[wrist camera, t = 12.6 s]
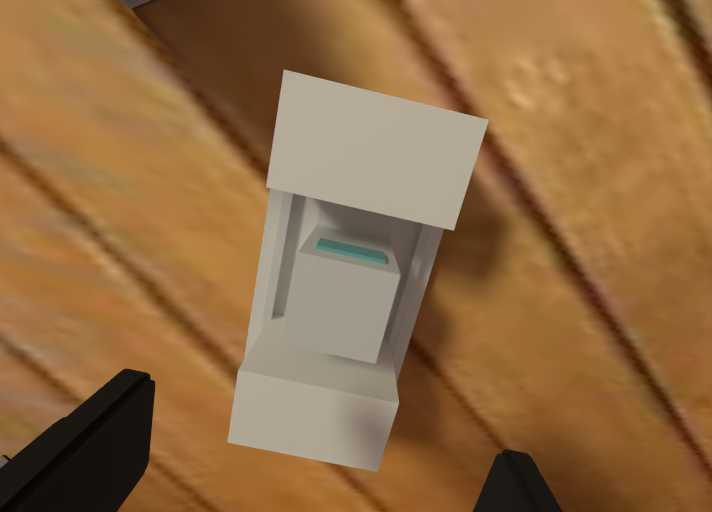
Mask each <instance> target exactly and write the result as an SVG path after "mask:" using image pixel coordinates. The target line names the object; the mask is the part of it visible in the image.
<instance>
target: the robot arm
mask: <svg viewBox="0 0 712 512" xmlns="http://www.w3.org/2000/svg"><path fill="white" fill-rule="evenodd" d="M154 394H155V381H153V380H150V374H148V373H145V372H141V371H136V370H131V369H124V370H122V371H121V372H120V373H118V374H117V375H116V376H115V377H114V378H112V379H111V380H110V381H109V382H108V383H106V384H105V385H104V386H103V387H102V388H100V389H99V390H98V391H97V392H96V393H94V394H93V395H92V396H91V397H90V398H88V399H87V400H86V401H85V402H84V403H83V404H81V405H80V406H79V407H78V408H77V409H75V410H74V411H73V412H72V413H71V414H69V415H68V416H67V417H64V418H62V419H60V420H59V421H57V422H56V423H54V424H53V425H52V426H51V427H49V428H48V429H47V430H46V431H45V432H43V433H42V434H41V435H40V436H38V437H37V438H36V439H35V440H34V441H32V442H31V443H30V444H29V445H28V446H26V447H25V448H24V449H23V450H22V451H20V452H19V453H18V454H17V455H15V456H14V457H13V458H12V459H11V460H9V461H8V462H7V463H6V464H5V465H3V466H2V467H1V468H0V512H117V511H118V509H119V508H120V506H121V505H122V504H123V502H124V501H125V500H126V498H127V497H128V495H129V494H130V493H131V491H132V490H133V488H134V487H135V486H136V484H137V483H138V481H139V480H140V479H141V477H142V476H143V474H144V472H145V470H146V468H147V465H148V461H149V452H150V440H151V429H152V417H153V406H154ZM473 512H562V510H561V508H560V506H559V505H558V503H557V501H556V499H555V498H554V496H553V494H552V492H551V491H550V489H549V487H548V485H547V484H546V482H545V480H544V478H543V477H542V475H541V473H540V471H539V470H538V468H537V466H536V465H535V463H534V461H533V459H532V458H531V456H530V455H528V454H527V453H522V452H518V451H513V450H508V449H505V450H504V451H503V452H502V454H498V455H497V456H496V457H495V460H494V462H493V465H492V467H491V469H490V472H489V474H488V477H487V479H486V482H485V484H484V486H483V489H482V491H481V494H480V496H479V498H478V501H477V503H476V506H475V508H474V510H473Z"/></svg>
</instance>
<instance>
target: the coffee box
mask: <svg viewBox="0 0 712 512" xmlns="http://www.w3.org/2000/svg"><path fill="white" fill-rule="evenodd" d="M118 1H119V2H121V3H122V4H124V5H125V6H127V7H128V8H134V7H136V6H139V5H141V4H144V3H146V2H149V1H151V0H118Z"/></svg>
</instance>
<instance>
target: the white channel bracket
mask: <svg viewBox="0 0 712 512" xmlns="http://www.w3.org/2000/svg"><path fill="white" fill-rule="evenodd" d="M488 121H489V120H487V119H482V118H478V117H474V116H470V115H466V114H462V113H458V112H454V111H450V110H446V109H442V108H438V107H434V106H430V105H426V104H422V103H418V102H414V101H410V100H406V99H402V98H398V97H393V96H389V95H385V94H381V93H377V92H373V91H369V90H365V89H361V88H357V87H353V86H349V85H345V84H341V83H337V82H333V81H329V80H325V79H321V78H317V77H313V76H309V75H305V74H300V73H296V72H292V71H288V70H284V72H283V79H282V85H281V92H280V98H279V105H278V112H277V118H276V125H275V131H274V138H273V145H272V151H271V158H270V164H269V171H268V178H267V184H266V187H268V188H271V189H270V195H269V202H268V208H267V215H266V221H265V228H264V234H263V240H262V247H261V253H260V260H259V266H258V273H257V279H256V285H255V292H254V298H253V305H252V311H251V318H250V324H249V330H248V337H247V343H246V350H245V356H244V361H243V363H242V365H241V366H240V368H239V370H238V375H237V382H236V389H235V395H234V402H233V408H232V415H231V422H230V428H229V435H228V441H227V442H228V443H233V444H238V445H243V446H248V447H253V448H258V449H264V450H269V451H274V452H279V453H284V454H289V455H294V456H299V457H304V458H309V459H314V460H319V461H324V462H329V463H334V464H339V465H344V466H349V467H354V468H359V469H364V470H369V471H374V472H378V469H379V466H380V463H381V459H382V456H383V453H384V450H385V447H386V444H387V440H388V437H389V434H390V431H391V428H392V425H393V421H394V418H395V415H396V412H397V409H398V406H399V399H398V392H397V385H396V384H397V381H398V377H399V374H400V371H401V368H402V364H403V361H404V358H405V355H406V351H407V348H408V345H409V342H410V338H411V335H412V332H413V328H414V325H415V322H416V319H417V315H418V312H419V309H420V306H421V302H422V299H423V296H424V293H425V289H426V286H427V283H428V280H429V276H430V273H431V270H432V267H433V263H434V260H435V257H436V254H437V250H438V247H439V244H440V241H441V237H442V234H443V231H444V229H449V230H453V231H454V228H455V225H456V222H457V219H458V216H459V213H460V209H461V206H462V203H463V200H464V197H465V194H466V190H467V187H468V184H469V181H470V178H471V175H472V171H473V168H474V165H475V162H476V159H477V156H478V152H479V149H480V146H481V143H482V140H483V137H484V133H485V130H486V127H487V124H488ZM317 224H319V225H323V226H328V227H332V228H336V229H341V230H345V231H349V232H354V233H358V234H362V235H367V236H371V237H376V238H380V239H384V240H389V241H390V243H391V246H392V249H393V252H394V256H395V259H396V262H397V265H398V268H399V271H400V274H401V276H400V279H399V283H398V286H397V290H396V294H395V297H394V301H393V304H392V308H391V311H390V315H389V318H388V322H387V325H386V329H385V333H384V336H383V340H382V343H381V347H380V350H379V354H378V357H377V361H376V364H374V363H369V362H364V361H359V360H355V359H350V358H345V357H341V356H336V355H331V354H327V353H322V352H317V351H313V350H308V349H303V348H299V347H294V346H289V345H284V344H281V338H282V333H283V328H284V322H285V317H286V312H287V306H288V301H289V296H290V290H291V285H292V280H293V275H294V269H295V264H296V259H297V253H298V251H299V249H300V248H301V246H302V245H303V244H304V242H305V241H306V239H307V238H308V237H309V235H310V234H311V232H312V231H313V229H314V228H315V227H316V225H317Z"/></svg>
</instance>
